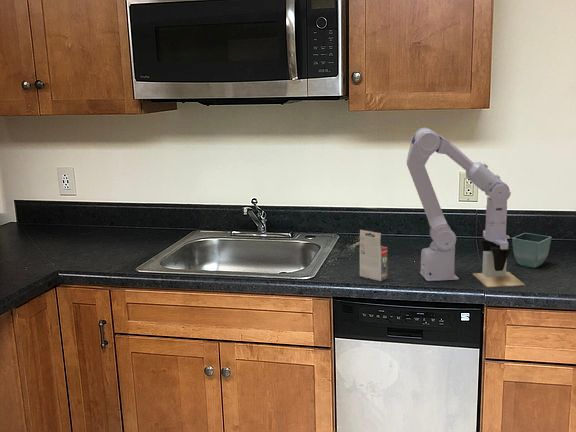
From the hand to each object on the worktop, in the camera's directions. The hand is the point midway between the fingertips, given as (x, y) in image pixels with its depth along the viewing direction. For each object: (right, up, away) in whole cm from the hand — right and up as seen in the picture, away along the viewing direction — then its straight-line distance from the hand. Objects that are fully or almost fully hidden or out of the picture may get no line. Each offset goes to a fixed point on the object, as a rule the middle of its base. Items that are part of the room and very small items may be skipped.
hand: (493, 266), depth 193 cm
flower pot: (+14, -1, +10) cm, 18 cm away
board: (0, -4, -3) cm, 5 cm away
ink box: (-35, -4, +2) cm, 35 cm away
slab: (0, -3, +1) cm, 3 cm away
